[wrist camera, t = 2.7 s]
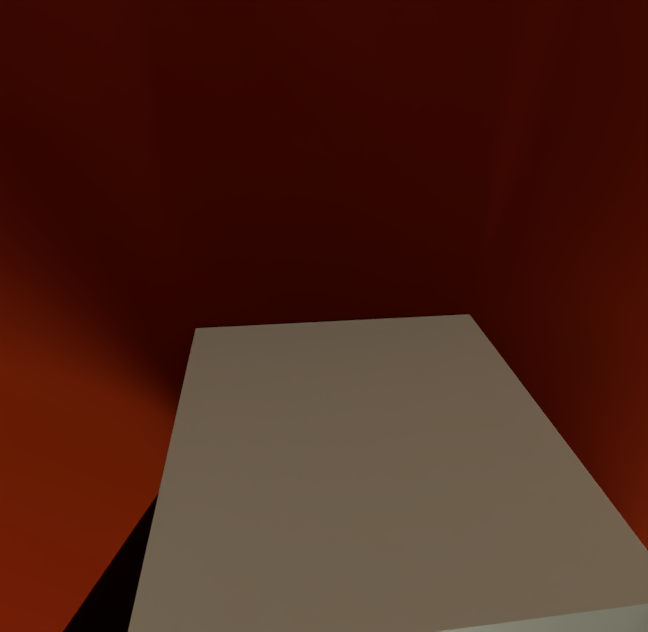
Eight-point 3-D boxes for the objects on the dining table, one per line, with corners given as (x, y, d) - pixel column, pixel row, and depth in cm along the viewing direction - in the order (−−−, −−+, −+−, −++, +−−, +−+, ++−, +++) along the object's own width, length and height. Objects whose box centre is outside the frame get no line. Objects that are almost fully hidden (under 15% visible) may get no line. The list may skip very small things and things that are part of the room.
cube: (431, 486, 11) (537, 766, 7) (224, 506, 10) (200, 824, 6) (469, 314, 8) (684, 599, 4) (195, 328, 8) (118, 674, 4)
